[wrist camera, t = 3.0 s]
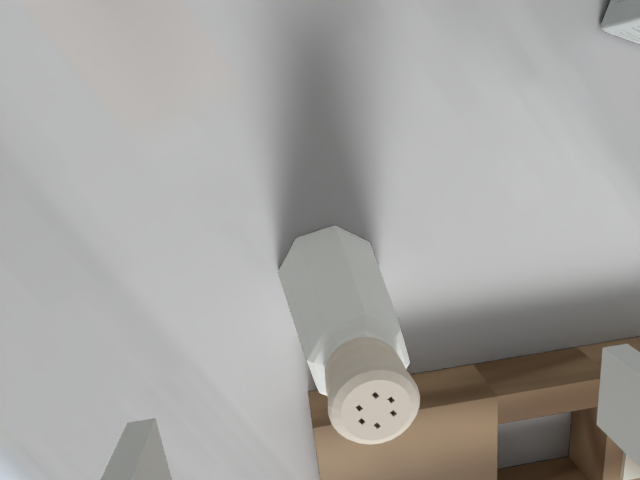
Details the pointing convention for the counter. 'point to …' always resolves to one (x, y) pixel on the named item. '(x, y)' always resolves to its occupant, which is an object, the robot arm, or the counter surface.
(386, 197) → the counter surface
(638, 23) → the supplement box
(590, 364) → the brown flat tray
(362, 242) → the pepper shaker
